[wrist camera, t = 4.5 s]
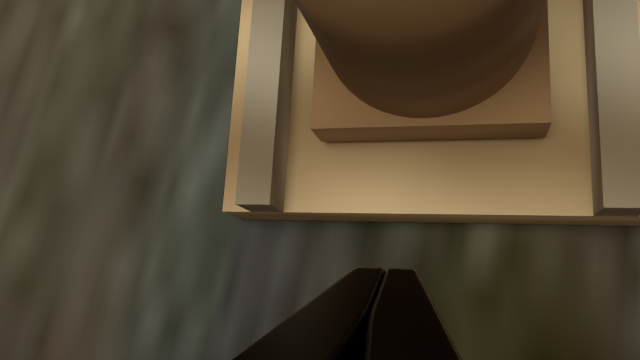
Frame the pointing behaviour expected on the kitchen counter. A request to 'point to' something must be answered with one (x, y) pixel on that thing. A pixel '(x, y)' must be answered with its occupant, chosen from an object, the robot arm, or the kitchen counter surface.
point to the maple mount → (441, 154)
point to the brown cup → (429, 69)
